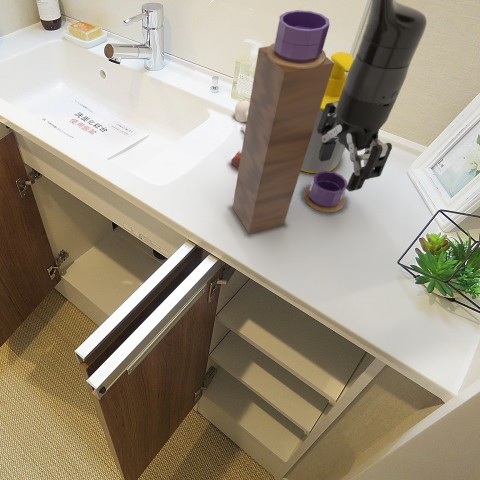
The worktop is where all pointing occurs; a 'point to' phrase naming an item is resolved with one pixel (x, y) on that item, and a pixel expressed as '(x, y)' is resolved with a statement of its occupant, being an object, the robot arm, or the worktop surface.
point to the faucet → (242, 111)
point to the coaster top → (295, 65)
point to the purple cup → (327, 188)
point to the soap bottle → (331, 95)
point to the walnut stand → (276, 139)
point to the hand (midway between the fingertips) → (337, 174)
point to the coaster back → (321, 208)
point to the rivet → (243, 128)
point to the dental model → (236, 159)
